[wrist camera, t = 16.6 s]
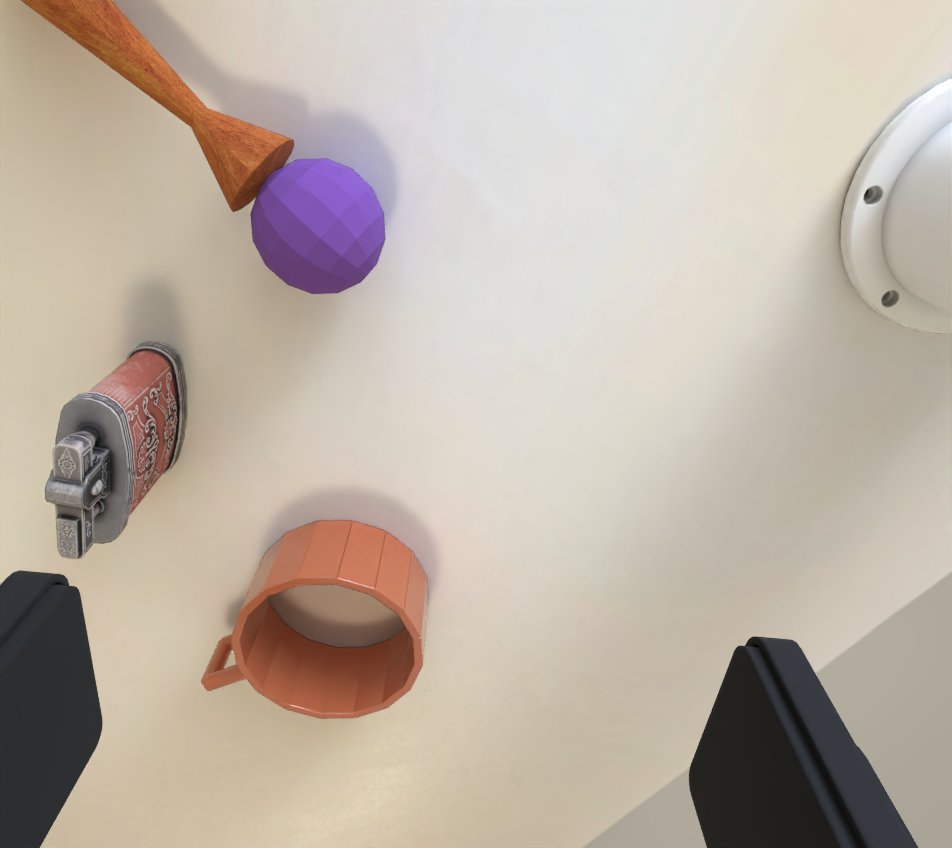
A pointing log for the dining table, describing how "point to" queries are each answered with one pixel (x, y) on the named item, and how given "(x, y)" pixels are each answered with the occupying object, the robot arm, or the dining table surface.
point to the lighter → (116, 447)
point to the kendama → (248, 163)
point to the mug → (318, 665)
